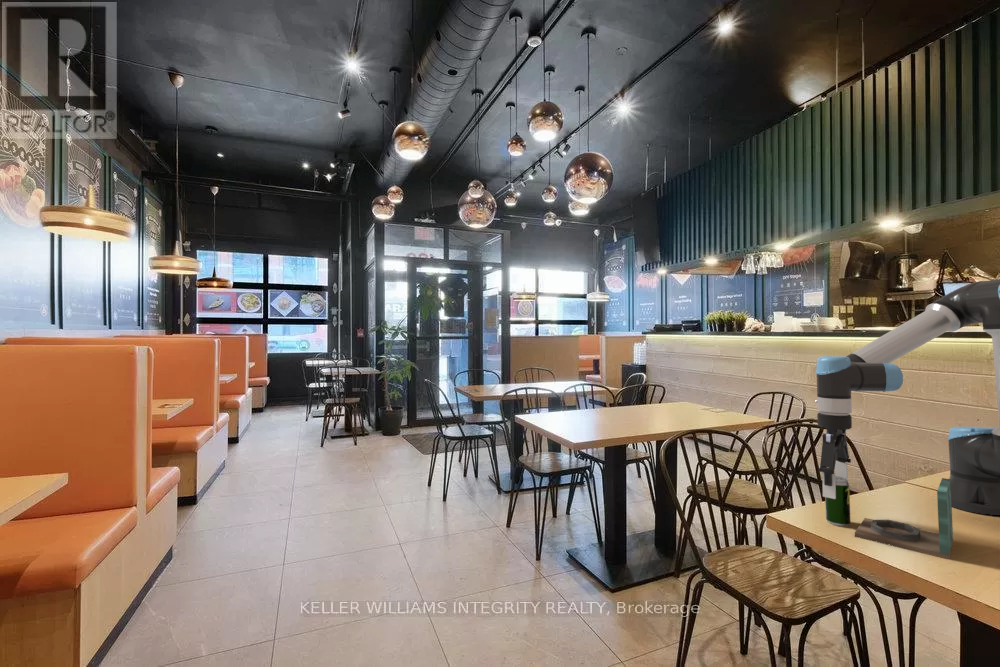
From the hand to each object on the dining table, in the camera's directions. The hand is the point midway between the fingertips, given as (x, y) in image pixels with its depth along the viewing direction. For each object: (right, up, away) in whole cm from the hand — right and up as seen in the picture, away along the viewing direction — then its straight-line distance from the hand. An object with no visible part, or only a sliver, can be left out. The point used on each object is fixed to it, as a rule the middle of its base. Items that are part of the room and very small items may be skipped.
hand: (835, 491), depth 123 cm
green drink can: (+1, -9, 0) cm, 9 cm away
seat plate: (+9, -8, -10) cm, 16 cm away
